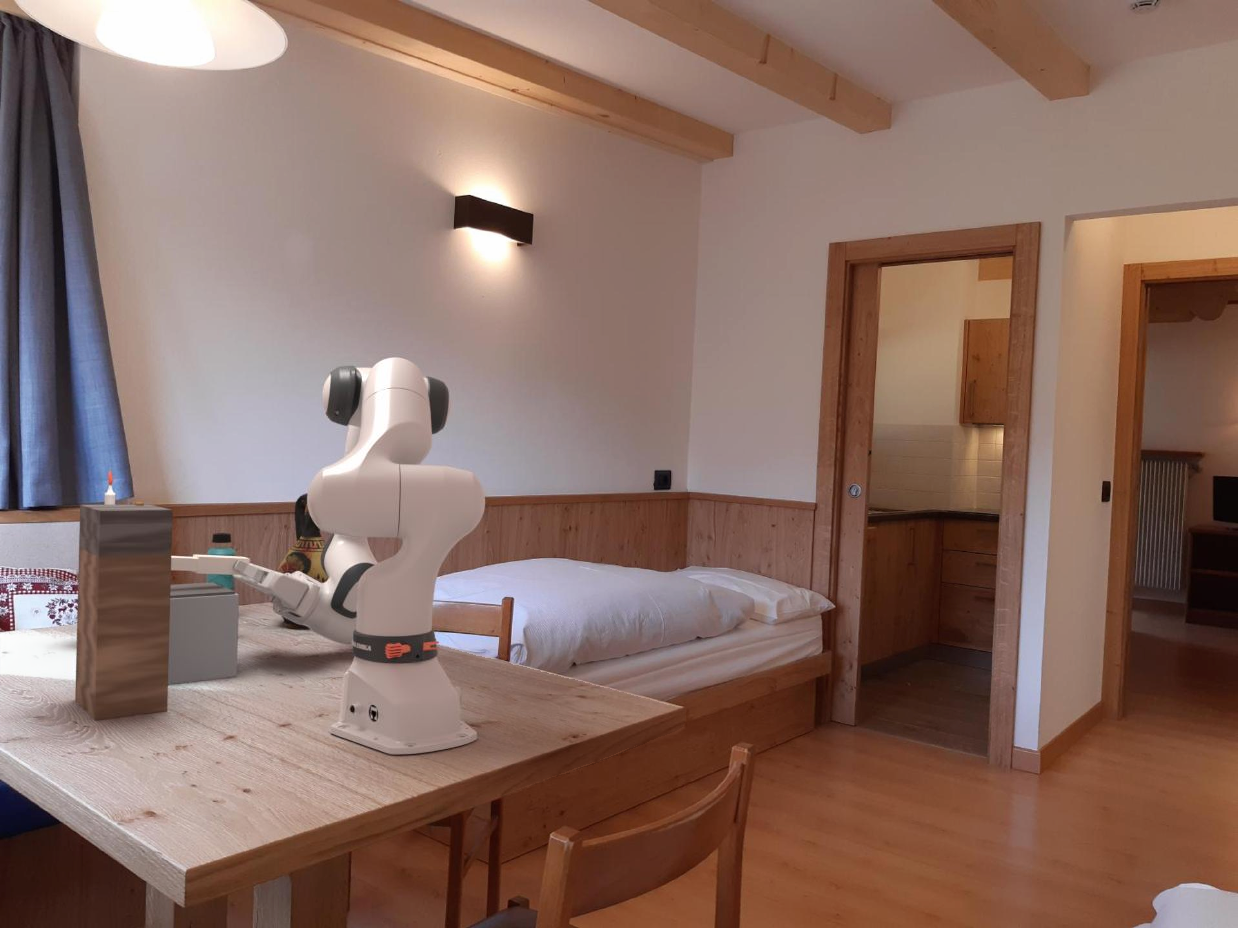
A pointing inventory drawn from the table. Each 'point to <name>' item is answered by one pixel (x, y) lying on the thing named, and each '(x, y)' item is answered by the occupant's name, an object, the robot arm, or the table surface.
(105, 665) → the stand
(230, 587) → the beverage bottle
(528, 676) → the table surface
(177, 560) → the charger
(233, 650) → the shelf
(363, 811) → the table surface
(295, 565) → the ceramic jug
